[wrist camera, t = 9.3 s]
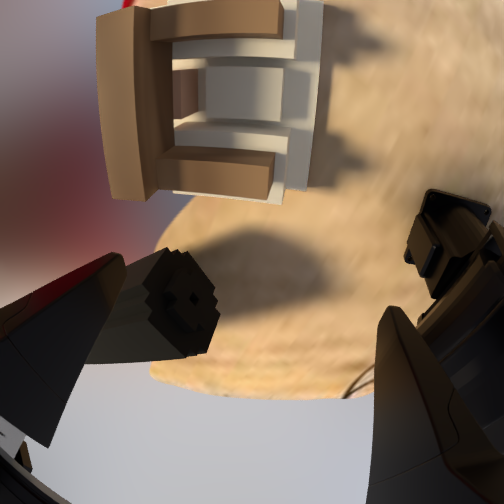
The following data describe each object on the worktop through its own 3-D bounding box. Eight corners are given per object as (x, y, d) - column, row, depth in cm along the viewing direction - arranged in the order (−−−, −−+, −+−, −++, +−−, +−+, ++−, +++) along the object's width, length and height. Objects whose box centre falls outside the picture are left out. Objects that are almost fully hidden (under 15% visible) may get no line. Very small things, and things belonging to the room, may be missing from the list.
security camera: (85, 271, 31) (38, 330, 23) (197, 211, 23) (137, 299, 15) (121, 311, 34) (83, 372, 26) (241, 274, 26) (208, 370, 18)
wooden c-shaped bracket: (284, 9, 10) (274, -10, 7) (273, 181, 16) (261, 214, 13) (139, 21, 11) (96, 17, 8) (146, 171, 17) (112, 198, 14)
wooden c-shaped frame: (323, 3, 12) (325, -10, 9) (306, 186, 20) (304, 209, 17) (144, 12, 14) (115, 7, 11) (151, 172, 21) (128, 190, 19)
